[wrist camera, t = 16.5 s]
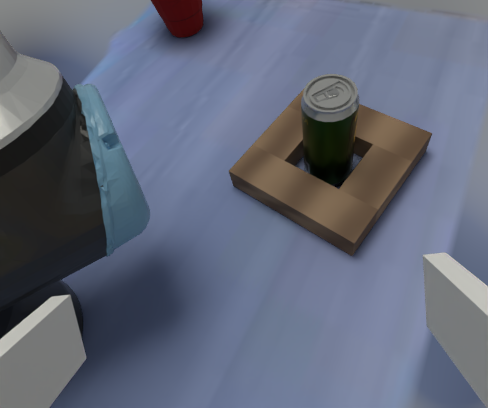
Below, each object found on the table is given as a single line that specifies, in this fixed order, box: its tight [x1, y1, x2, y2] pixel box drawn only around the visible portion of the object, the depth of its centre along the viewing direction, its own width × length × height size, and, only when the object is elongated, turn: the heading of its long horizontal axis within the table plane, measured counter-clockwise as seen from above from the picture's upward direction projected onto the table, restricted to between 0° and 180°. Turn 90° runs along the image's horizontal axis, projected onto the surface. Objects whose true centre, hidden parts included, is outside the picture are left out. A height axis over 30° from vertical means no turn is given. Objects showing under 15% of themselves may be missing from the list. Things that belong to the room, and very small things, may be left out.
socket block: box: [229, 88, 432, 256], centre depth 45 cm, size 16×16×3 cm
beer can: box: [301, 74, 359, 186], centre depth 42 cm, size 5×5×12 cm
